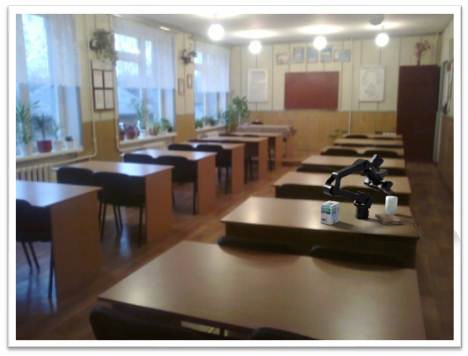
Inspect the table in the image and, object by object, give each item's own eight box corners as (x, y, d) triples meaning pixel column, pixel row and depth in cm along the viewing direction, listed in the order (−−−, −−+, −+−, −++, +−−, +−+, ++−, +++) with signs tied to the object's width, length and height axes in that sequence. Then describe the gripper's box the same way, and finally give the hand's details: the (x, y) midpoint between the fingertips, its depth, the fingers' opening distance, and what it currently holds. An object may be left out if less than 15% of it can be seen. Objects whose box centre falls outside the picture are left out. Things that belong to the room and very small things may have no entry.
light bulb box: (331, 225, 236) (332, 206, 234) (319, 223, 240) (320, 204, 238) (339, 220, 244) (340, 202, 242) (328, 218, 248) (329, 200, 246)
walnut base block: (383, 224, 237) (383, 220, 237) (374, 217, 251) (375, 213, 251) (401, 224, 237) (401, 220, 237) (392, 217, 251) (392, 213, 251)
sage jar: (387, 215, 256) (388, 198, 254) (383, 212, 262) (384, 195, 260) (397, 215, 256) (399, 198, 254) (393, 212, 262) (395, 195, 260)
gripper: (392, 167, 240) (405, 185, 247) (368, 162, 257) (381, 179, 264) (380, 182, 239) (393, 200, 245) (357, 176, 255) (370, 193, 262)
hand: (385, 192), depth 254 cm, fingers open, 9 cm apart
